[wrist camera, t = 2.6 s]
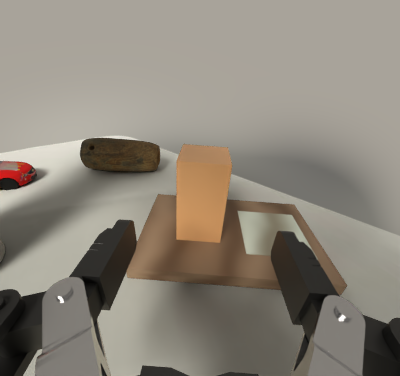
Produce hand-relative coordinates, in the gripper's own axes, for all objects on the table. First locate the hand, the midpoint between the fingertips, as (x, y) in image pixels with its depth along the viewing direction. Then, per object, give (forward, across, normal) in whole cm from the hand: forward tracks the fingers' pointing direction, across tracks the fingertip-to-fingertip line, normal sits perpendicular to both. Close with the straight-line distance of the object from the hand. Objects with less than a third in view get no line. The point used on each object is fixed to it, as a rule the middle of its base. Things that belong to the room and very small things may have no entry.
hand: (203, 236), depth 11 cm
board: (+12, -4, +11) cm, 16 cm away
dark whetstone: (+30, +17, +10) cm, 36 cm away
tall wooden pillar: (+12, 0, +9) cm, 15 cm away
